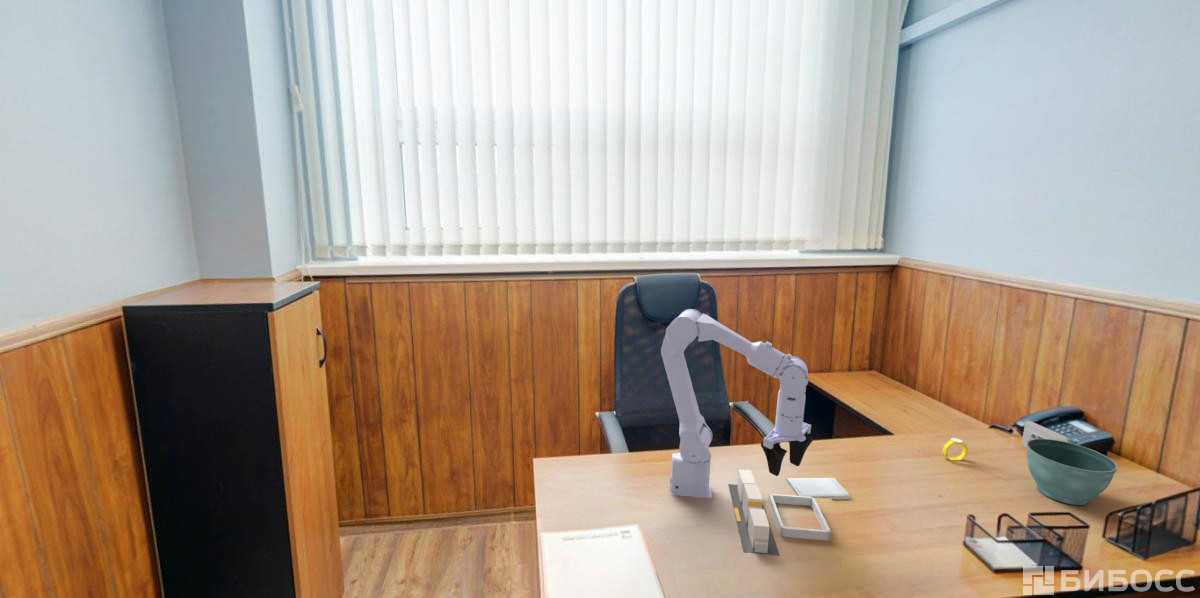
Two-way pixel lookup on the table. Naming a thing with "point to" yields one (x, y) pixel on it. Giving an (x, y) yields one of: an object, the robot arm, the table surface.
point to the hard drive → (818, 487)
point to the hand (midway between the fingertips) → (784, 468)
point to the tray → (799, 532)
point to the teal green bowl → (1068, 470)
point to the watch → (959, 442)
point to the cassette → (1040, 433)
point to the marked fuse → (751, 499)
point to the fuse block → (760, 547)
